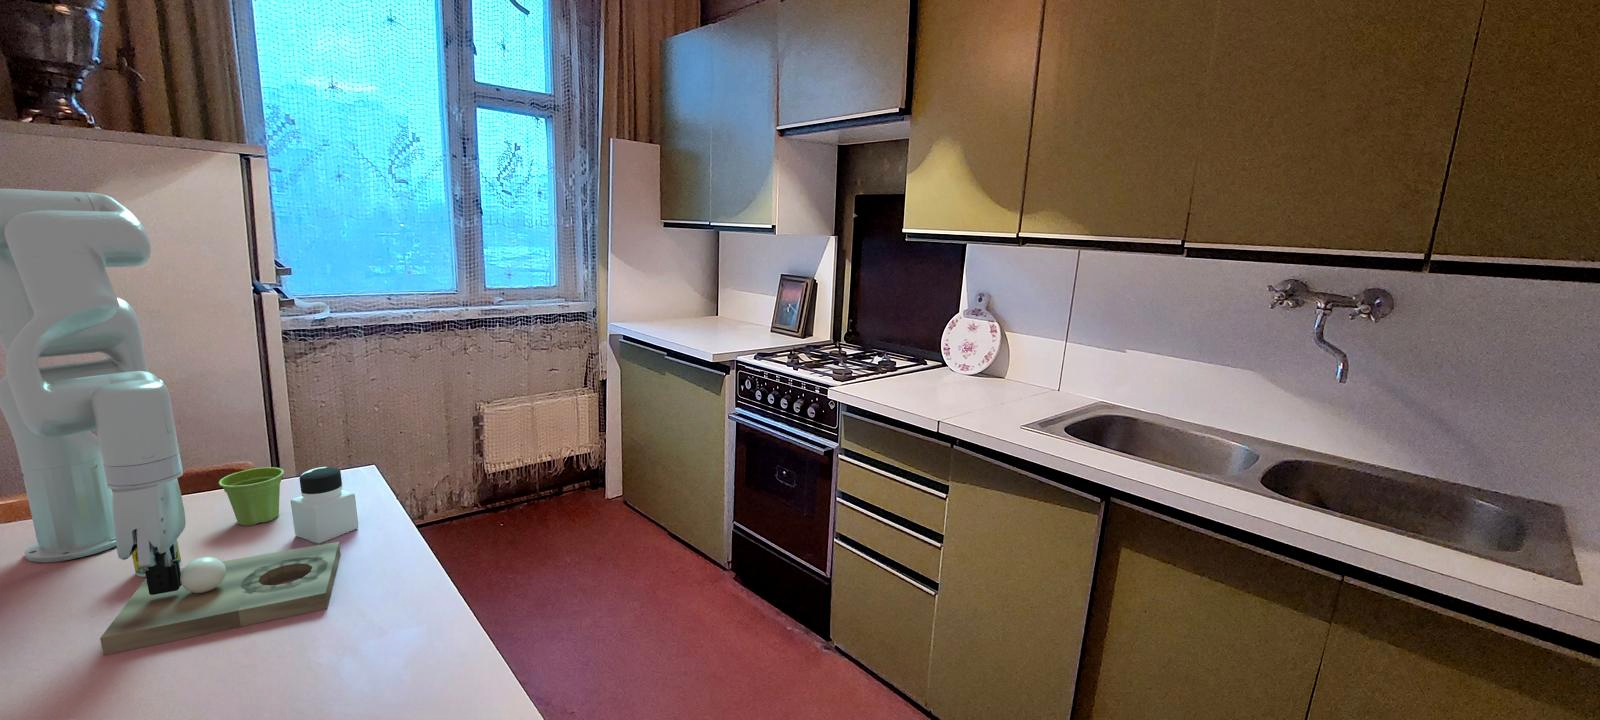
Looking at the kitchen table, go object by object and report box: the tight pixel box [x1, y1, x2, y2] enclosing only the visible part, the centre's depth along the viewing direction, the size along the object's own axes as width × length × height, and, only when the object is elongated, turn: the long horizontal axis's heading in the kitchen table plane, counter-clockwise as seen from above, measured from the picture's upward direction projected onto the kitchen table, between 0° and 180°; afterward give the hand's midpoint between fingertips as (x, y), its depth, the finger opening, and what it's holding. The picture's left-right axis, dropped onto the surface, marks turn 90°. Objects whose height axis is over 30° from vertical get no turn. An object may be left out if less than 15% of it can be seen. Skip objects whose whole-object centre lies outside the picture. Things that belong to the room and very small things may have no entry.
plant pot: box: [218, 466, 285, 526], centre depth 124 cm, size 9×9×9 cm
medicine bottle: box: [290, 466, 359, 545], centre depth 120 cm, size 7×7×12 cm
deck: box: [99, 541, 342, 656], centre depth 99 cm, size 18×24×2 cm
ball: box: [180, 556, 226, 593], centre depth 96 cm, size 5×5×5 cm
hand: (166, 589), depth 95 cm, fingers closed
